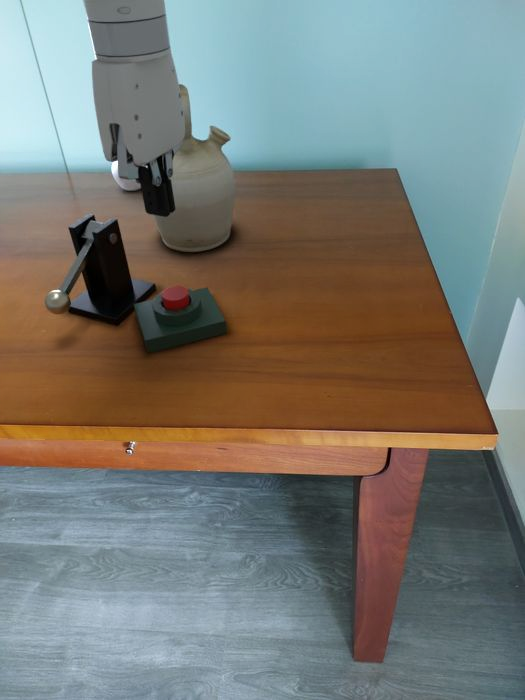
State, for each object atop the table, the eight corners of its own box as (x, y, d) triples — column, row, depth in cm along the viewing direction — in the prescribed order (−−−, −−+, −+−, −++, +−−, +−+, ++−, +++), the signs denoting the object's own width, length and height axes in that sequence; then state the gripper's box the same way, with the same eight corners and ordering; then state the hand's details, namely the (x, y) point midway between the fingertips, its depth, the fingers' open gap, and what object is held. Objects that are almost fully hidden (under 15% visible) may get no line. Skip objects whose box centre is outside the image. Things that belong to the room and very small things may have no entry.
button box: (147, 353, 70) (142, 329, 67) (136, 316, 76) (130, 293, 74) (226, 333, 73) (224, 309, 70) (208, 299, 79) (206, 276, 77)
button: (166, 313, 70) (164, 303, 69) (161, 299, 73) (159, 289, 72) (192, 307, 71) (191, 296, 70) (186, 294, 74) (184, 283, 73)
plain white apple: (118, 182, 115) (110, 145, 110) (151, 180, 116) (144, 143, 110) (113, 195, 110) (104, 157, 105) (147, 193, 110) (140, 155, 105)
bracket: (117, 325, 75) (96, 245, 67) (68, 312, 78) (41, 233, 70) (156, 289, 82) (141, 212, 74) (109, 278, 85) (90, 203, 77)
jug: (243, 216, 100) (234, 71, 84) (232, 258, 88) (219, 98, 72) (164, 216, 101) (140, 73, 85) (144, 257, 90) (111, 100, 74)
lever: (68, 321, 70) (54, 309, 67) (49, 315, 71) (35, 304, 68) (115, 235, 74) (104, 221, 71) (97, 232, 75) (85, 217, 72)
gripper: (142, 24, 58) (168, 184, 70) (48, 52, 48) (96, 235, 60) (201, 26, 56) (217, 192, 68) (115, 56, 45) (152, 246, 57)
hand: (160, 212), depth 64 cm, fingers closed
